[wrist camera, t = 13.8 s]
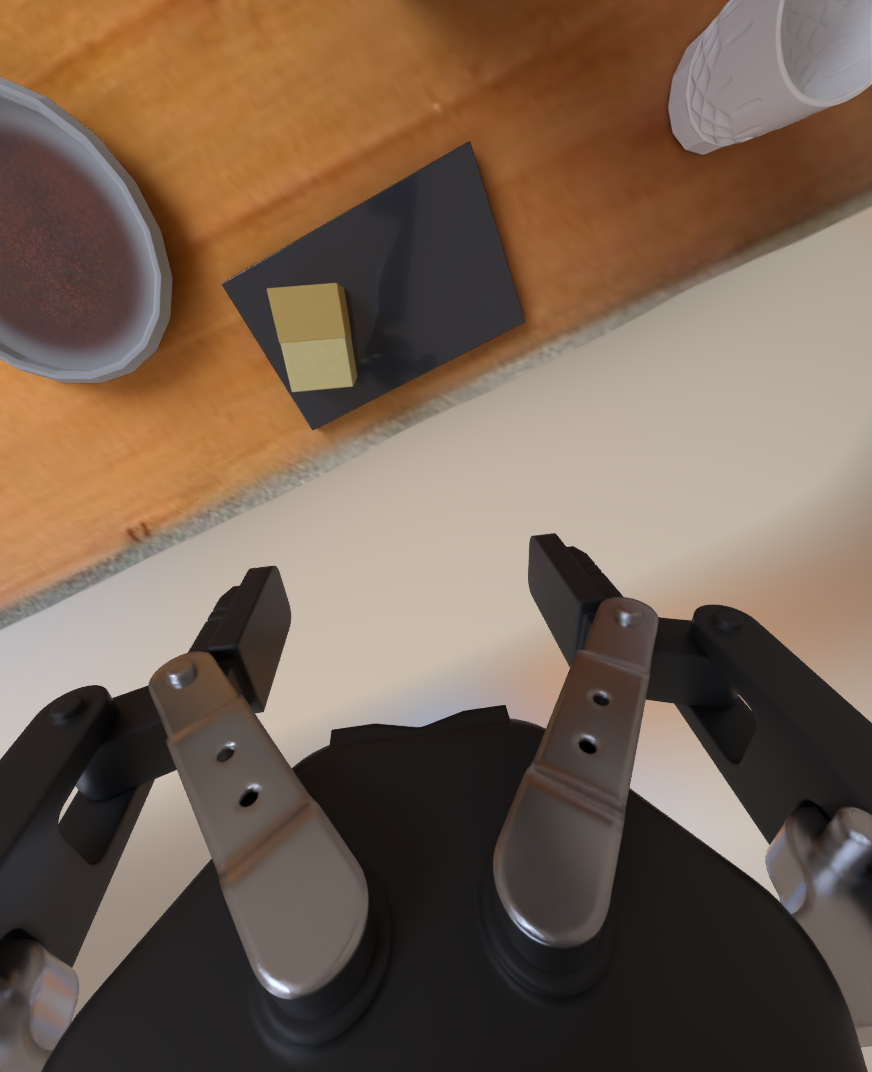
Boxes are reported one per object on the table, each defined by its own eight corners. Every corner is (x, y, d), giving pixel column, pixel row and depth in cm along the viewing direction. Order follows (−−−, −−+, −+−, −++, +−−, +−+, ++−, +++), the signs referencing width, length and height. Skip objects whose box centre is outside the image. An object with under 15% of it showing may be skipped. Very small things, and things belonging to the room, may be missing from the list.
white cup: (791, 28, 28) (979, -105, 19) (733, 177, 31) (869, 123, 22) (689, -9, 26) (841, -171, 18) (641, 151, 30) (748, 83, 21)
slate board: (467, 146, 29) (470, 140, 28) (521, 321, 34) (525, 322, 33) (226, 284, 31) (220, 283, 30) (314, 427, 37) (312, 431, 36)
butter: (344, 287, 31) (337, 282, 26) (358, 377, 34) (353, 386, 29) (283, 292, 31) (266, 288, 26) (303, 382, 34) (290, 392, 29)
